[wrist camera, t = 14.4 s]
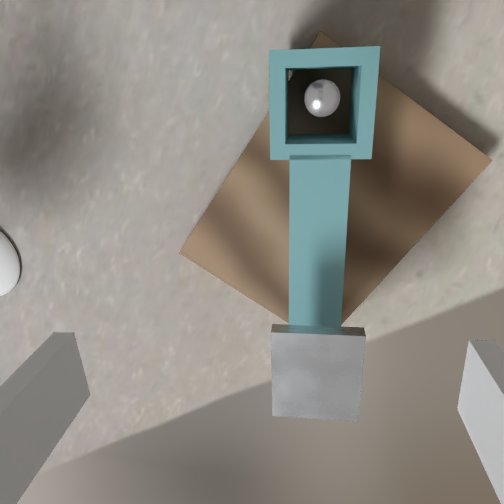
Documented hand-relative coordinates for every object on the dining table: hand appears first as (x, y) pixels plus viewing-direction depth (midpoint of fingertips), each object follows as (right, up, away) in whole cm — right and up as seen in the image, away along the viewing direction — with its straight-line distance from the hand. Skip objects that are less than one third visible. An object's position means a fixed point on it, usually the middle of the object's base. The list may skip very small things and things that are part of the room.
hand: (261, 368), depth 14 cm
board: (+6, +8, +22) cm, 24 cm away
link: (+5, +9, +20) cm, 22 cm away
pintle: (+5, +16, +18) cm, 25 cm away
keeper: (+5, 0, +25) cm, 25 cm away
